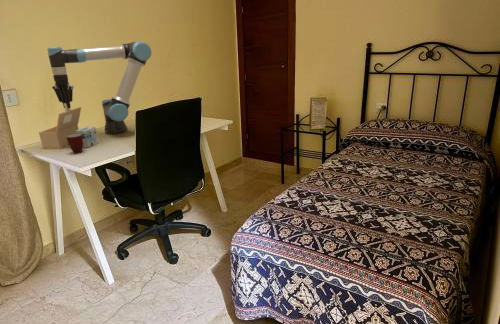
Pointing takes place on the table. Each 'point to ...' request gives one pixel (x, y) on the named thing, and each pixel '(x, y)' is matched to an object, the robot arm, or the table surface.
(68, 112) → the box lid
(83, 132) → the light bulb box
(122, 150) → the table surface
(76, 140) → the mug
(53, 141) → the carton
